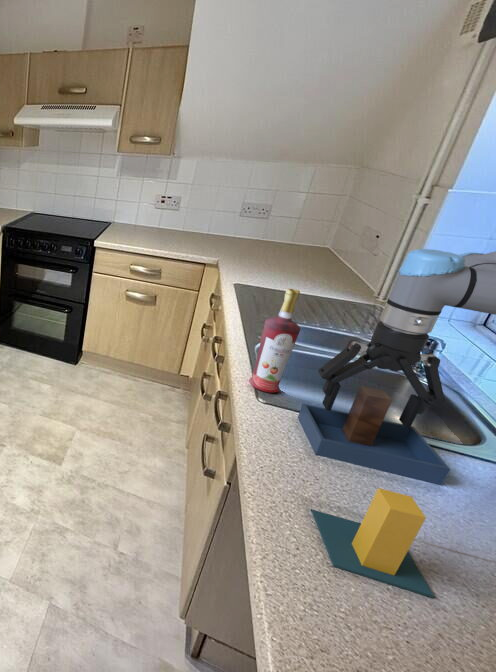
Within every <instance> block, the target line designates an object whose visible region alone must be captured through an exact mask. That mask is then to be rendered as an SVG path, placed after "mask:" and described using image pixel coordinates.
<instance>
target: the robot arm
mask: <svg viewBox="0 0 496 672" xmlns="http://www.w3.org/2000/svg"><path fill="white" fill-rule="evenodd" d="M396 276H397V277H396V279H395V281H394V284H393V286H392V289H391V291H390V293H389V296H388V298H387V301H386V303H385V305H384V307H383V310H382V311H381V314H380V316H379V322H377V324H376V326H375V328H374V330H373V332H372V333H373V334H372V335H371V339H370V341H369V342H368V343H367V344H366V343H360V342H358V341H356V340H355V339H351V340H349V341H348V343H347V345H346V347H345V348H344V349H343V350H341V351H340V352H339V353H337V354H336V355H335V356H333V358H331V359H330V360H329V361H327V362H326V363H325V364H323V366H321V367H320V368H319V369H318V370H317V373H318V374H319V376H320V377H321V378H322V379H323V380H325V383H324V385H323V388H322V392H323V393H324V397H323V400H322V405H323V408H325V409H326V410H329V411H331V409H332V408H333V406H334V404H335V401H336V400H337V399H336V398H337V397H338V394H339V391H340V388H341V387H342V385H341V384H340V382H342V381H344V380H347V379H348V378H351V377H353V376H355V375H358V374H360V373H361V372H364V371H366V370H372V369H373V368H377V369H378V370H379V369H380V370H389V371H392V372H394V373H395V372H396V373H398V372H400V371H402V373H403V374H404V376H405V377H406V379H407V381H408V382H409V384H410V385H411V387H412V388H413V390H414V391H415V393H416V394H417V395H416V394H414V393H411V394H410V396H409V397H408V400H407V402H406V404H405V406H404V408H403V411H402V412H401V414H400V416H399V418H398V421H400V424H403V425H404V426H405V427H406V428H410V427H411V426H413V422H415V420H416V418H417V416H418V415H422V414H423V413H424V412H425V409H426V408H427V406H428V405H433V404H434V402H438V403H443V402H444V401H445V400H446V399H445V395H444V390H443V385H442V381H441V376H440V372H439V367H440V364H441V359H440V358H439V357H437V355H435V354H434V353H432V352H427V353H421V352H423V351H424V349H425V347H426V345H427V343H428V340H429V338H430V336H429V333H432V331H433V330H434V327H435V325H436V324H437V321H438V319H439V317H440V315H441V313H442V311H443V309H444V308H445V307H446V306H447V307H452V308H458V309H461V310H462V309H464V310H469V311H474V312H479V313H484V314H490V315H493V316H494V315H495V316H496V251H492V252H487V253H483V252H465V253H461V254H457V253H453V252H449V251H443V250H438V249H430V248H418V249H413V250H411V251H410V252H408V253H407V255H406V257H405V259H404V260H403V263H402V264H401V267H400V269H398V273H397V275H396ZM362 352H365V354H362ZM361 354H362V355H361ZM358 355H361V356H359V357H358V358H357V359H355V360H354V358H356V357H357V356H358ZM352 360H353V361H352ZM419 362H420V363H421V364H422V365H423V366H422V367H423V371H424V375H425V379H426V384H427V388H428V391H427V390H426V388H425V387H424V385H423V384H422V382H421V380H420V379H419V377H418V376H417V374H416V372H415V371H414V369H413V367H412V366H413V365H415V364H417V363H419ZM332 410H333V409H332Z"/></svg>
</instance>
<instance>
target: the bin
mask: <svg viewBox="0 0 496 672" xmlns="http://www.w3.org/2000/svg"><path fill="white" fill-rule="evenodd" d="M348 414H349V412H347V411H342V410H336V409H331V411H329V410H326V409H325V407H324V406H323V407H322V406H317V405H313V404H308V403H302V404H301V408H300V410H299V413H298V415H297V419H298V422H299V423H300V426H301V428H302V430H303V432H304V434H305V436H306V438H307V440H308V442H309V445H310V446H311V448H312V451H313V452H314V455H315V456H318V457H321V458H322V457H323V458H327V459H331V460H335V461H339V462H343V463H348V464H351V465H354V466H355V465H356V466H360V467H362V468H368V469H371V470H376V471H379V472H385V473H387V474H392V475H397V476H400V477H404V478H409V479H412V480H417V481H421V482H425V483H429V484H433V485H437V486H443V484H444V482H445V481H446V479H447V477H448V475H449V473H450V471H451V468H450V467H449V465H448V464H447V463H446V462H445V461H444V460H443V459H442V458H441V457H440V455H439V454H438V453H437V452H436V451H435V449H434V448H433V447H432V446H431V445H430V443H428V441H427V440H426V439H425V438H424V437H423V435H421V433H420V432H419V431H418V430H417V428H416V427H415V426H413V425H411V427H410V428H406V427H405V426H404V425H403V424H402V423H399V422H394V421H389V420H385V419H384V420H383V422H382V424H381V426H380V429H379V431H378V433H377V435H376V437H375V440H374V442H373V444H372V446H371V447H370V446H366V445H362V444H357V443H353V442H349V441H348V440H347V438H346V436H345V435H344V433H343V431H342V429H343V426H344V424H345V421H346V419H347V416H348Z"/></svg>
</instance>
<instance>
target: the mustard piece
mask: <svg viewBox="0 0 496 672" xmlns="http://www.w3.org/2000/svg"><path fill="white" fill-rule="evenodd" d="M426 519H427V517H426V516H425V514H424V512H423V511H422V510H421V508H420V506H419V505H418V504H417V503H416V501H415V499H414V498H413V497H412V496H411V495H407V494H403V493H399V492H395V491H391V490H388V489H384V488H380V487H378V488H377V490H376V491H375V493H374V495H373V498H372V499H371V502H370V504H369V506H368V509H367V510H366V513H365V515H364V516H363V519H362V521H361V522H360V523H361V525H360V527H359V529H358V531H357V533H356V536H355V538H354V540H353V542H352V545H353V547H354V550H355V552H356V554H357V556H358V558H359V560H360V563H361V565H362V566H365V567H368V568H371V569H375V570H378V571H381V572H384V573H388V574H391V575H395V573H396V572H397V570H398V568H399V566H400V564H401V563H402V561H403V559H404V557H405V555H406V553H407V552H409V550H410V548H411V546H412V544H413V543H414V541H415V539H416V537H417V535H418V534H419V532H420V531H421V528H422V526H423V525H424V522H425V521H426Z"/></svg>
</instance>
